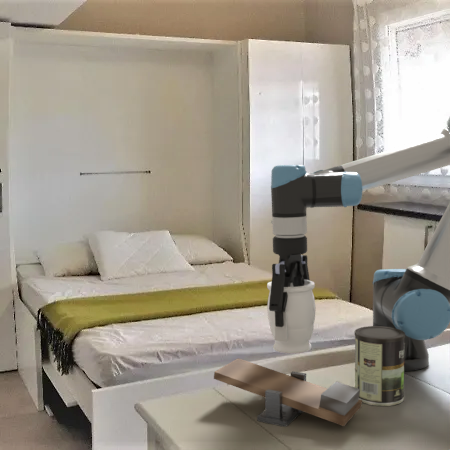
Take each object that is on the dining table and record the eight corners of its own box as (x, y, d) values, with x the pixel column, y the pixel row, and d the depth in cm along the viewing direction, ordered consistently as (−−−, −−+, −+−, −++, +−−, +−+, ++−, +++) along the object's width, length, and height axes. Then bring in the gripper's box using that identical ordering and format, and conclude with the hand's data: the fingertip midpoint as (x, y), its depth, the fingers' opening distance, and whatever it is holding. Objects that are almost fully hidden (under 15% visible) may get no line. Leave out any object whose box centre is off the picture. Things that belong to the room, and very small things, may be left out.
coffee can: (402, 389, 141) (403, 326, 139) (405, 408, 131) (407, 339, 129) (354, 387, 143) (354, 324, 141) (353, 404, 133) (354, 337, 131)
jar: (307, 340, 151) (305, 276, 149) (323, 353, 141) (321, 285, 139) (263, 344, 149) (261, 280, 147) (276, 358, 139) (274, 289, 137)
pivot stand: (257, 420, 125) (257, 390, 125) (287, 396, 137) (287, 369, 137) (285, 426, 122) (285, 396, 122) (313, 401, 134) (313, 373, 134)
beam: (213, 378, 132) (216, 360, 131) (237, 364, 140) (239, 347, 140) (343, 426, 119) (347, 406, 118) (361, 407, 127) (364, 388, 126)
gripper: (295, 228, 154) (297, 320, 156) (250, 241, 134) (253, 345, 137) (324, 229, 150) (326, 323, 152) (283, 243, 130) (286, 350, 133)
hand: (292, 334), depth 144 cm, fingers closed on jar, 10 cm apart
